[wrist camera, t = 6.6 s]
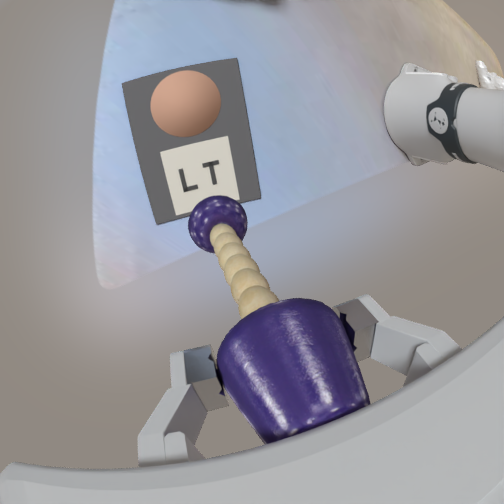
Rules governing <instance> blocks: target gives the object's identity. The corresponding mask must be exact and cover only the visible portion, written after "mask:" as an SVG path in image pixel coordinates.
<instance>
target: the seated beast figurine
mask: <svg viewBox="0 0 504 504" xmlns="http://www.w3.org/2000/svg"><path fill="white" fill-rule="evenodd" d="M475 65H476V70H477V75H478V79H479V83H480V88H485V89H498V90H504V79H503V78H501V77H499V76H497V75H496V73H494V72H491V73H489V72H488V71H487V68H486V66H485V64H484V63H483V61H476V62H475Z"/></svg>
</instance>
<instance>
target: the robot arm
mask: <svg viewBox="0 0 504 504" xmlns="http://www.w3.org/2000/svg"><path fill="white" fill-rule="evenodd" d="M414 71H415V72H414ZM384 117H385V123H386V127H387V130H388V132H389V134H390V136H391V138H392V140H393V141H394V143H395V144H396V145H397V146H398V147H399V148H400V149H401V150H403V151H404V152H405V153H406V154H407V156H408V158H409V160H410V162H411V163H412V164H413V165H415V166H420V165H422V164H424V163H427V162H429V161H433V162H436V163H441V164H447V163H448V162H451V161H453V160H454V159H458V160H460V161H462V162H466V163H472V164H476V163H480V164H483V165H486V166H489V167H491V168H495V169H497V170H500V171H502V172H504V90H498V89H485V88H478V87H477V86H475V85H472V84H468V83H461V82H460V83H458V80H457V78H456V77H454V76H448V75H447V74H444V73H432V72H430V71H428V70H426V69H423V68H421V67H419V66H417V65H414V64H412V63H405V64H404V66H403V68H402V71H401V73H400V75H399V76H398V77H397V78H396V79H395V80H394V81H393V82H392V83H391V85H390V86H389V88H388V90H387V93H386V96H385V101H384ZM332 310H333V311H334V312H335V313H336V314H337V315H338V317H339V318H340V320H341V322H342V324H343V326H344V328H345V330H346V333H347V336H348V338H349V341H350V343H351V346H352V349H353V352H354V354H355V357H356V360H357V362H359V361H361V360H364V359H366V358H369V357H371V358H372V359H374V360H376V361H378V362H380V363H382V364H384V365H386V366H389V367H390V368H392V369H394V370H396V371H398V372H400V373H402V374H404V375H406V376H407V377H406V380H405V383H404V386H403V388H401V389H399V390H397V391H395V392H393V393H392V394H390V395H388V396H386V397H384V398H382V399H380V400H378V401H376V402H374V403H372V404H370V405H368V406H366V407H364V408H361V409H359V410H357V411H355V412H353V413H351V414H348V415H346V416H344V417H341V418H339V419H337V420H334V421H332V422H329V423H327V424H324V425H322V426H319V427H317V428H314V429H311V430H309V431H306V432H303V433H300V434H297V435H294V436H291V437H288V438H285V439H282V440H279V441H276V442H273V443H269V444H266V445H262V446H259V447H255V448H251V449H248V450H244V451H240V452H235V453H231V454H227V455H222V456H218V457H212V458H207V459H205V457H203V455H202V454H201V453H200V452H199V451H198V449H197V448H196V447H195V446H194V445H195V442H196V440H197V438H198V435H199V433H200V430H201V428H202V425H203V423H204V420H205V418H206V415H207V412H208V411H212V410H215V409H219V408H223V407H227V406H229V403H228V398H227V395H226V391H225V388H224V386H223V385H222V383H221V381H220V378H219V374H218V371H217V359H215V356H214V351H213V349H212V347H211V345H206V346H202V347H197V348H193V349H188V350H184V351H180V352H175V353H171V355H170V366H171V367H170V368H171V385H172V388H169V389H168V390H167V391H166V393H165V394H164V396H163V397H162V399H161V401H160V402H159V404H158V405H157V407H156V409H155V410H154V412H153V413H152V415H151V416H150V418H149V420H148V421H147V423H146V424H145V426H144V427H143V429H142V430H141V432H140V434H139V435H138V459H139V460H138V461H139V467H138V468H118V469H82V468H63V467H51V466H42V465H34V464H27V463H21V462H12V463H10V464H9V465H8V466H7V467H6V468H5V469H4V470H3V471H2V472H1V474H0V504H504V317H503V318H502V319H500V320H499V321H498V322H497V323H496V324H495V325H493V326H492V327H491V328H490V329H488V330H487V331H486V332H485V333H484V334H482V335H481V336H480V337H478V338H477V339H476V340H475V341H473V342H472V343H470V344H469V345H468V346H466V347H465V348H464V349H461V348H460V347H459V346H458V345H457V344H456V343H455V342H454V341H453V340H452V339H451V338H450V337H449V336H448V335H447V334H446V333H445V332H444V331H442V330H439V329H436V328H432V327H429V326H425V325H422V324H419V323H415V322H412V321H409V320H406V319H402V318H399V317H396V316H392V317H390V316H389V315H388V314H387V313H386V312H385V311H384V310H383V309H382V308H381V307H380V306H379V305H378V304H377V303H376V302H375V301H374V300H373V299H372V297H370V295H368V294H365V295H363V296H360V297H358V298H356V299H353V300H350V301H347V302H345V303H342V304H339V305H337V306H334V307H333V308H332Z"/></svg>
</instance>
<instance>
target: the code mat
mask: <svg viewBox="0 0 504 504" xmlns="http://www.w3.org/2000/svg"><path fill="white" fill-rule="evenodd" d="M122 88H123V93H124V98H125V103H126V108H127V113H128V117H129V122H130V127H131V131H132V135H133V140H134V144H135V148H136V152H137V156H138V160H139V164H140V168H141V172H142V176H143V179H144V183H145V187H146V190H147V194H148V198H149V201H150V205H151V208H152V211H153V215H154V218H155V221H156V224H160V223H164V222H167V221H171V220H175V219H178V218H182V217H186V216H189V215H190V214H191V212H192V210H193V209H194V207H195V206H196V205H197V204H198V203H199V202H200V201H202V200H203V199H205V198H207V197H210V196H216V195H222V196H228V197H230V198H232V199H234V200H236V201H237V202H238V203H241V202H245V201H250V200H254V199H258V198H261V195H260V189H259V183H258V177H257V171H256V165H255V159H254V153H253V147H252V141H251V135H250V129H249V123H248V118H247V112H246V106H245V101H244V95H243V89H242V84H241V78H240V73H239V67H238V62H237V58H232V59H225V60H219V61H212V62H206V63H201V64H195V65H190V66H185V67H181V68H176V69H172V70H168V71H164V72H160V73H156V74H152V75H148V76H145V77H141V78H138V79H134V80H131V81H128V82H124V83H122Z"/></svg>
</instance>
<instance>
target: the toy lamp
mask: <svg viewBox="0 0 504 504" xmlns="http://www.w3.org/2000/svg"><path fill="white" fill-rule="evenodd" d="M188 229H189V233H190V236H191V238H192V240H193V241H194V242H195V244H196V245H197V246H198V247H200V248H201V249H203V250H205V251H207V252H210V253H215V254H216V256H217V257H218V261H219V265H220V267H221V269H222V270H223V271H224V276H225V279H226V281H227V283H228V284H229V285H230V287H231V293H232V296H233V298H234V300H235V301H236V303H237V304H238V305H239V307H238V308H239V314H240V316H241V318H242V320H240V321H239V322H238V323H237V324H236V325H235V326H234V327H233V328H232V329H231V330H230V331H229V333H228V334H227V335H226V336H225V338H224V340H223V341H222V343H221V346H220V348H219V350H218V354H217V371H218V374H219V378H220V381H221V383H222V385H223V386H224V388H225V390H226V391H227V393H228V394H229V396H230V397H231V399H232V400H233V401H234V403H235V404H236V406H237V407H238V409H239V410H240V411H241V413H242V414H243V416H244V417H245V418H246V420H247V421H248V423H249V424H250V425H251V426H252V428H253V429H254V430H255V432H256V433H257V434H258V436H259V437H260V438H261V440H262V441H263V442H264V444H265V445H266V444H269V443H273V442H276V441H279V440H282V439H285V438H288V437H291V436H294V435H297V434H300V433H303V432H306V431H309V430H311V429H314V428H317V427H319V426H322V425H324V424H327V423H329V422H332V421H334V420H337V419H339V418H341V417H344V416H346V415H348V414H351V413H353V412H355V411H357V410H359V409H361V408H364V407H366V406H368V405H370V400H369V395H368V392H367V389H366V387H365V384H364V381H363V377H362V374H361V372H360V368H359V366H358V363H357V360H356V357H355V354H354V352H353V349H352V346H351V343H350V341H349V338H348V336H347V333H346V330H345V328H344V326H343V324H342V322H341V320H340V318H339V317H338V315H337V314H336V313H335V312H334V311H333V310H332V309H331V308H330V307H328V306H327V305H325V304H324V303H322V302H319V301H316V300H311V299H302V298H293V299H287V300H282V301H279V300H278V298H277V296H276V295H275V294H274V293H273V292H271V291H270V287H269V284H268V282H267V280H266V279H265V277H264V276H263V275H262V274H261V273H260V270H259V267H258V265H257V264H256V262H255V261H254V260H253V259H252V258H251V255H250V253H249V251H248V250H247V249H246V248H245V247H244V246H243V243H242V240H243V238H244V236H245V234H246V231H247V216H246V213H245V210H244V209H243V207H242V206H241V205H240V203H238V202H237V201H236V200H234V199H232V198H230V197H228V196H222V195H216V196H210V197H207V198H205V199H203V200H202V201H200V202H199V203H198V204H197V205H196V206H195V207H194V209H193V210H192V212H191V214H190V218H189V221H188Z"/></svg>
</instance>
